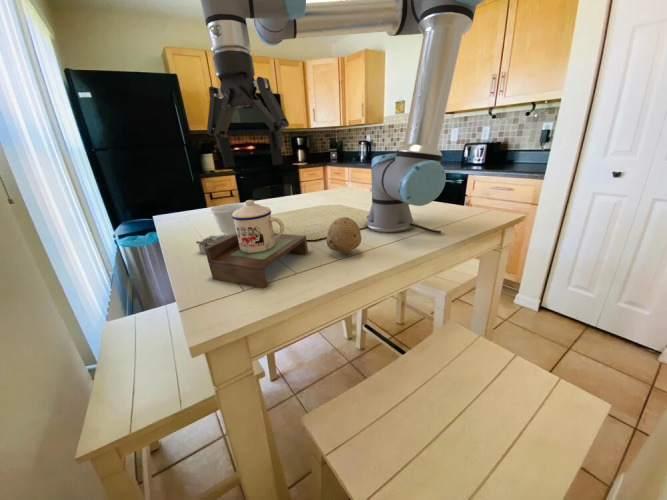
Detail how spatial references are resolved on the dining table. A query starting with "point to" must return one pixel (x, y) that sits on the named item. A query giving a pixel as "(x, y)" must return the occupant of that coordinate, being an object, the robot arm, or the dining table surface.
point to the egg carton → (210, 242)
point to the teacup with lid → (255, 227)
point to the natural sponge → (343, 235)
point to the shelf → (249, 259)
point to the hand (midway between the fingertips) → (253, 165)
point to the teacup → (226, 217)
